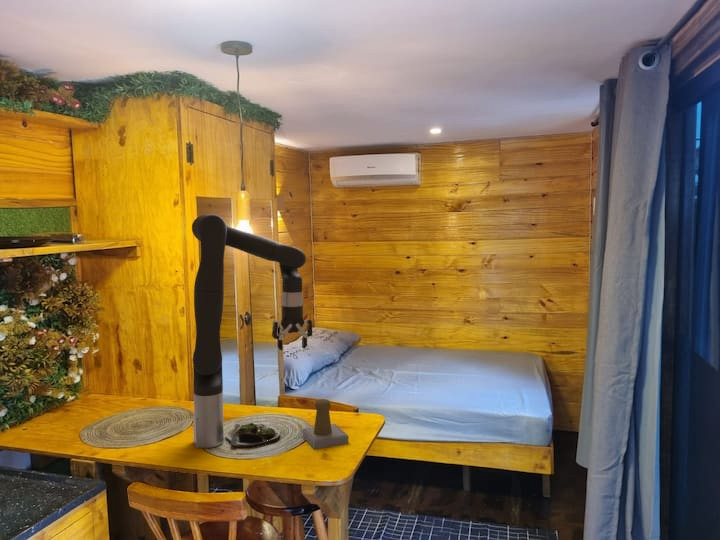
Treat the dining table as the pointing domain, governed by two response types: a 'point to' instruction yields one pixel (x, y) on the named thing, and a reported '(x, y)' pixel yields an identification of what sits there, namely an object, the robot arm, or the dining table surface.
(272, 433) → the salad plate
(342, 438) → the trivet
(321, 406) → the brown pepper mill
